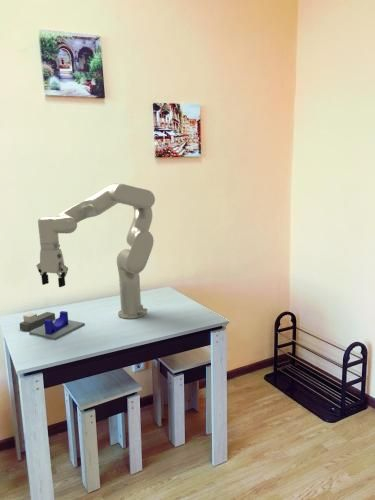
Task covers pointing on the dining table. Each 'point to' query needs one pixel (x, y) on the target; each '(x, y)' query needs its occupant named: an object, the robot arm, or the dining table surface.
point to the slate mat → (65, 330)
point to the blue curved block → (56, 323)
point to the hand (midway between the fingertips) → (53, 285)
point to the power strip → (37, 323)
